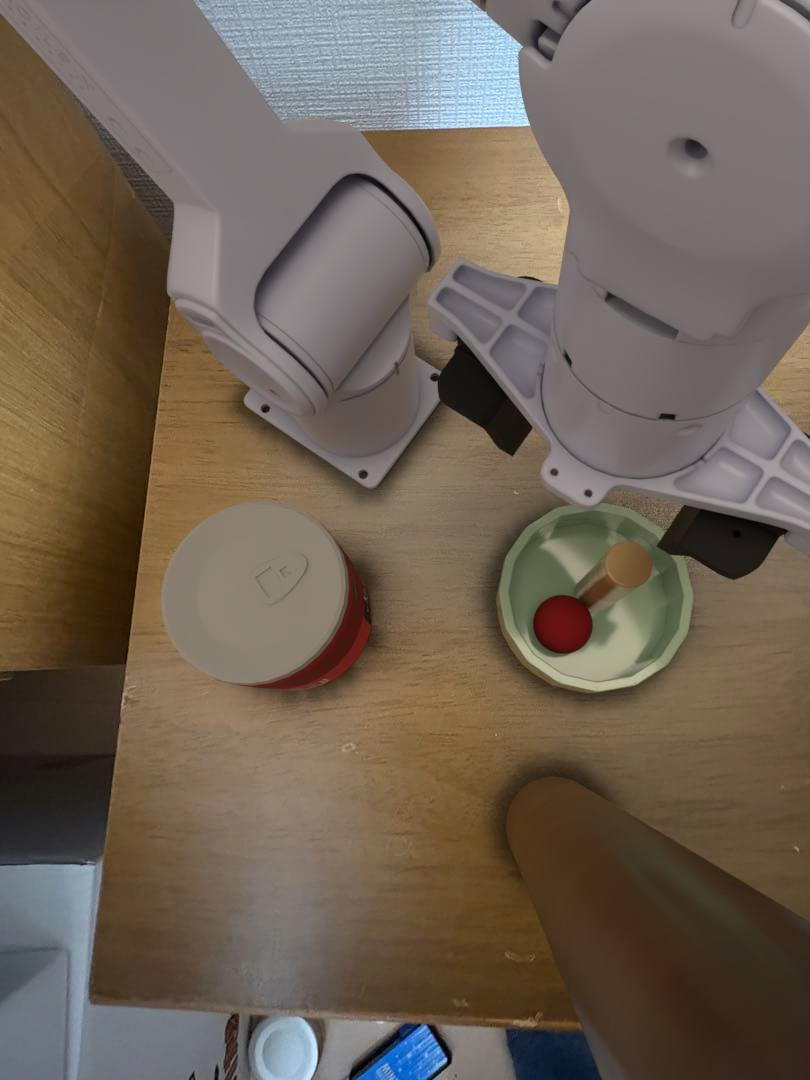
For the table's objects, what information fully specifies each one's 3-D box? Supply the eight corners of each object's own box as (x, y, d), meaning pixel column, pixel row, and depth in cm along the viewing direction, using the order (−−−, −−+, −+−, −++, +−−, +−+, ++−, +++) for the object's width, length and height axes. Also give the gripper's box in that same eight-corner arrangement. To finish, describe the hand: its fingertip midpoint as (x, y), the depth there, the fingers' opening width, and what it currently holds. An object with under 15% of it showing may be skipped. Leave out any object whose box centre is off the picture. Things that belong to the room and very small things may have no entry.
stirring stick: (566, 597, 42) (595, 567, 33) (589, 568, 42) (623, 531, 34) (597, 621, 42) (634, 597, 33) (619, 591, 42) (662, 560, 33)
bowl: (462, 624, 43) (463, 617, 39) (558, 486, 44) (567, 467, 40) (611, 728, 41) (625, 729, 38) (706, 581, 42) (728, 570, 39)
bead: (519, 649, 41) (536, 621, 38) (534, 604, 42) (551, 575, 40) (573, 672, 40) (594, 646, 38) (586, 626, 42) (607, 598, 40)
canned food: (403, 608, 43) (385, 574, 32) (306, 723, 42) (255, 727, 31) (299, 522, 44) (249, 461, 34) (204, 631, 43) (120, 605, 33)
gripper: (347, 300, 21) (401, 466, 34) (855, 606, 18) (699, 659, 31) (496, 106, 22) (492, 341, 35) (1003, 365, 19) (790, 516, 32)
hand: (595, 481), depth 33 cm, fingers open, 7 cm apart
